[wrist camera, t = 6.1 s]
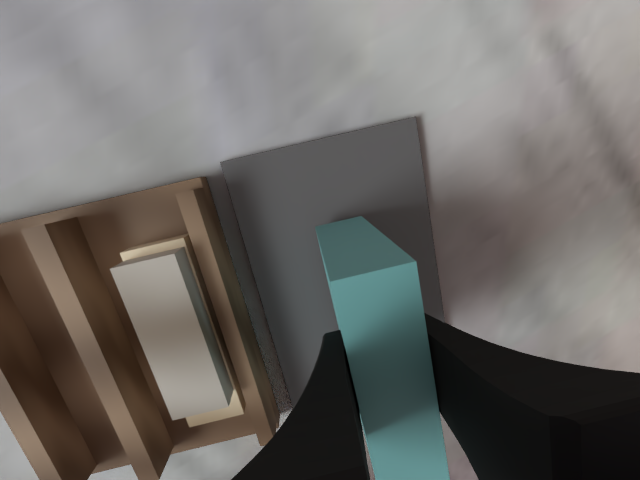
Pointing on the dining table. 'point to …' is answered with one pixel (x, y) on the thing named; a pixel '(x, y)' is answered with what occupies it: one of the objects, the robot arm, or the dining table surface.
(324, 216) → the rubber mat
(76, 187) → the dining table surface
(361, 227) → the teal block
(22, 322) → the walnut rack
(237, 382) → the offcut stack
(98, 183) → the dining table surface
